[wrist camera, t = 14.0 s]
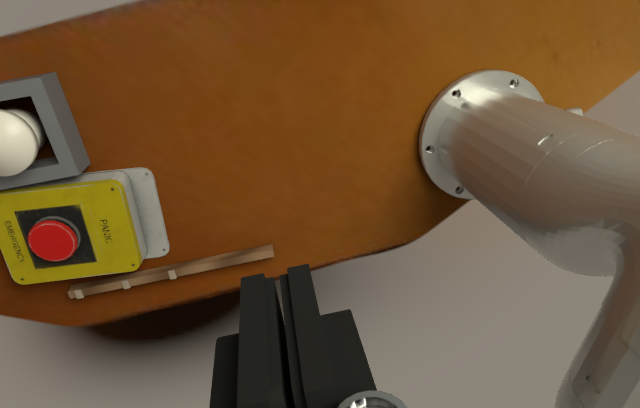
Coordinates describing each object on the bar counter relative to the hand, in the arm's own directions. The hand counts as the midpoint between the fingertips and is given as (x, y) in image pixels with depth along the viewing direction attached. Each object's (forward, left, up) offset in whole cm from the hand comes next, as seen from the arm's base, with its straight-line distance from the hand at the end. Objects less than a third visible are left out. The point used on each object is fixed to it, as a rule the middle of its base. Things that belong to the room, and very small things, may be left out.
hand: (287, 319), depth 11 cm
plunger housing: (+20, 0, -32) cm, 38 cm away
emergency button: (+19, +9, -33) cm, 39 cm away
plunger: (+20, -1, -31) cm, 37 cm away
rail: (+12, +16, -32) cm, 38 cm away
